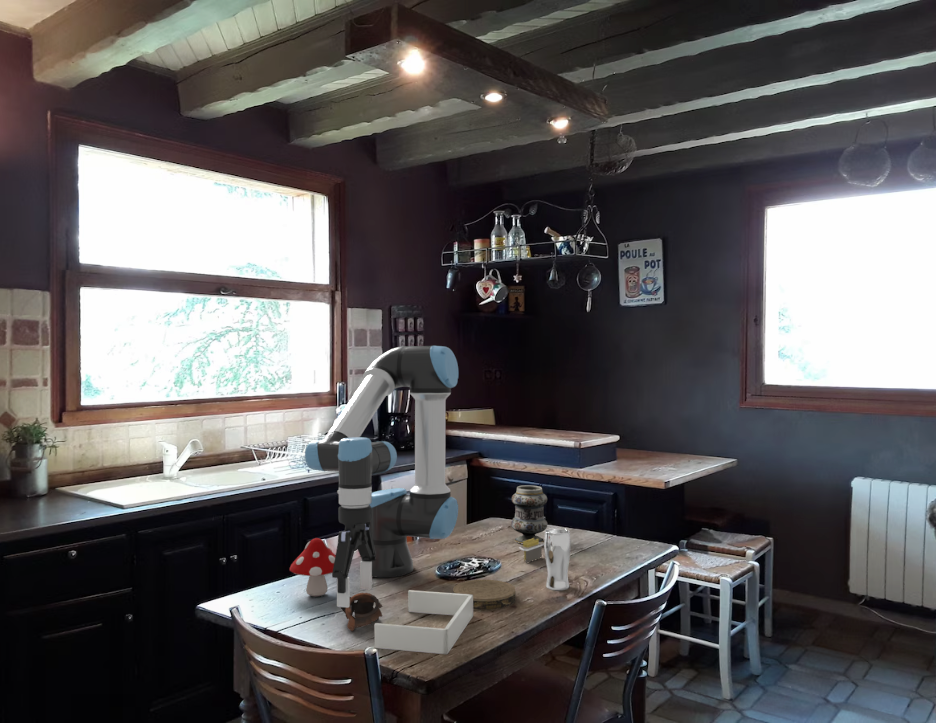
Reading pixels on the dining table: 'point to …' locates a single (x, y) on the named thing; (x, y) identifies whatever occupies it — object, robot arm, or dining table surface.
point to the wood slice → (487, 593)
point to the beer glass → (557, 557)
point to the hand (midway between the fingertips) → (355, 597)
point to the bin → (426, 636)
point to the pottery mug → (362, 610)
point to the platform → (532, 549)
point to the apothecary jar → (529, 512)
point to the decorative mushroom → (315, 566)
